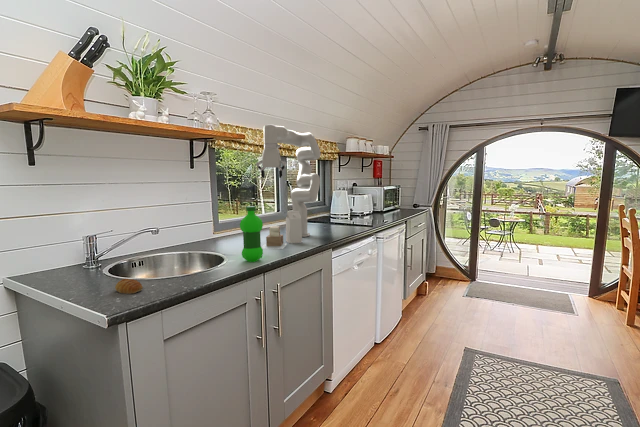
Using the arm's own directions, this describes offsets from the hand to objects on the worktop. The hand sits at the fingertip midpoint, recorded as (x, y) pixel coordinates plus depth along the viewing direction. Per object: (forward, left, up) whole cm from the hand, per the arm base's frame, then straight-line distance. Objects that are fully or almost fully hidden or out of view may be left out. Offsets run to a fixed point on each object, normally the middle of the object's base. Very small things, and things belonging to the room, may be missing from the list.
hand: (271, 177), depth 193 cm
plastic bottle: (+40, -2, -38) cm, 56 cm away
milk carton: (-2, +12, -38) cm, 40 cm away
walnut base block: (+6, +2, -38) cm, 39 cm away
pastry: (+83, -33, -39) cm, 98 cm away
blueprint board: (+10, +2, -38) cm, 40 cm away
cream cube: (+6, +2, -32) cm, 33 cm away
